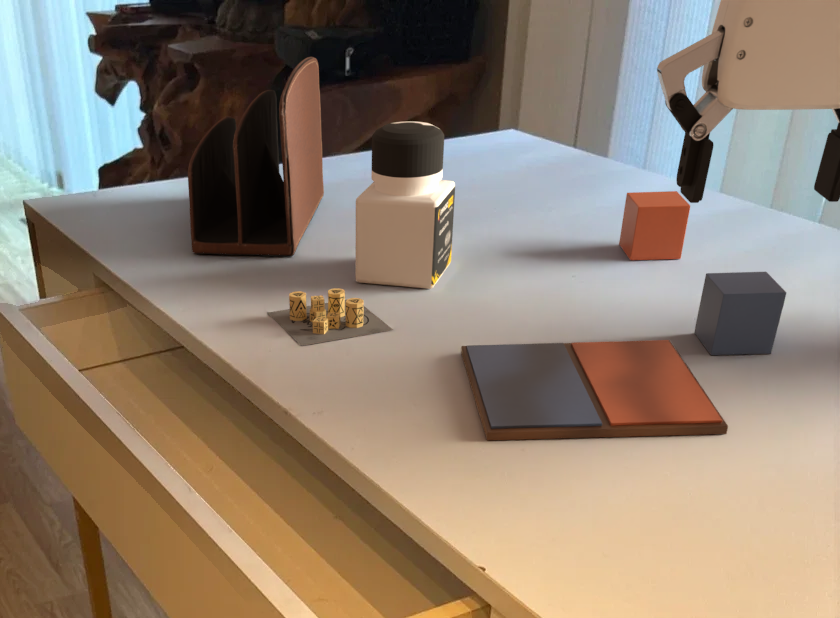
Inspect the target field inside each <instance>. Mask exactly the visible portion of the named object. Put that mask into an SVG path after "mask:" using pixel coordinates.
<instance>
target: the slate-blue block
mask: <svg viewBox="0 0 840 618" xmlns="http://www.w3.org/2000/svg"><path fill="white" fill-rule="evenodd" d="M704 277H705V278H704V282H703V287H702V290H701V291H702V292H701V296H700V302H699V307H698V311H697V316H696V322H695V326H694V331H693V333H694V335H695V336H696V338H697V339H698V340H699V342H700V343H701V344H702V345H703V347H704V348H705V350H706V352H707V353H708V354H709V355H710V356H736V355H737V356H739V355H767V354H768V355H771V354H772V352H773V349H774V344H775V340H776V336H777V332H778V329H779V324H780V320H781V317H782V312H783V308H784V304H785V300H786V297H787V291H786V290H785V289H784V288H783V287H782V286H781V285H780V284H779V283H778V282H777V281H776V280H775V279H774V278H773V277H772V276H771V275H770V274H769V273H768V272H767V271H746V272H745V271H742V272H741V271H739V272H738V271H737V272H708V273H707V272H706V273H705V276H704Z"/></svg>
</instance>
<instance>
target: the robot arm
mask: <svg viewBox="0 0 840 618" xmlns="http://www.w3.org/2000/svg"><path fill="white" fill-rule="evenodd" d="M701 67H702V75H701V86H702V87H701V88H702V89H703V90H704V91H705V92H704V93H703V94H702V95H701V97H699V99H698V100H697V101H696V102H695V103H694V104H693V103H692V101H691V99H690V98H689V97H688V94H687V91H686V86H685V81H686V77H687V76H688V75H689V74H691V73H692V72H694V71H696V70H698V69H700V68H701ZM656 73H657V76H658V80H659V84H660V87H661V91H662V94H663V97H664V102H665V103H664V105H665V106H666V108H667V109H668V110H669V112H670V113H671V115H672V116H673V118H674V119H675V120H676V122H677V123H678V125H679V127H680V128H681V130H682V131H683V132H684V137H683V142H682V147H681V151H680V156H679V162H678V168H677V171H676V172H677V173H676V185H677V187H678V188H680V194H681V195H682V196H683V197H685V198H684V199H685V200H687V202H688V203H690V204H698V203H699V202H701V201H702V200H703V199H704V198H703V197H704V194H705V189H706V188H705V187H706V183H707V180H708V179H707V178H708V175H709V169H710V166H711V165H710V164H711V160H712V155H713V151H714V141H713V140H711V139H710V135H711V132H712V131H713V130H714V129H715V128H716V127H717V126H718V125H719V124H720V123H721V122H722V121H723V120H724V118H726V117H727V116H728V115H729V113H731V111H733V110H745V111H782V110H784V111H785V110H786V111H788V110H789V111H790V110H795V111H796V110H799V111H800V110H831V111H832V113H833V115H834V117H835V120H836V122H837V125H836V126H837V127H836V128H831V130H830V132H829V133H828V134H827V137H826V140H825V145H824V148H823V152H822V155H821V159H820V163H819V166H818V171H817V174H816V177H815V181H814V185H813V189H814V191H815V192H816V193H817V194H818V195H820V196H821V197H822V198H824V199H825V200H826V201H828V202H829V203H838V202H839V200H840V0H720V2H719V4H718V9H717V13H716V15H715V19H714V24H713V26H712V30H711V34H708V35H707V36H705V37H703V38H702V39H700V40H698V41H696V42H694V43H693V44H691V45H689V46H686V47H684V48H683V49H681V50H680V51H677V52H675V53H674V54H672V55H670V56H668V57H667V58H665V59H662V61H660V62H659V63H658V64H657V67H656Z"/></svg>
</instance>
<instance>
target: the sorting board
mask: <svg viewBox="0 0 840 618" xmlns="http://www.w3.org/2000/svg"><path fill="white" fill-rule="evenodd" d="M460 353H461V357H462V361H463V364H464V368H465V371H466V374H467V378H468V381H469V384H470V388H471V391H472V394H473V398H474V402H475V404H476V408H477V412H478V414H479V418H480V422H481V424H482V428H483V432H484V436H485V439H486V441H512V440H513V441H515V440H516V441H517V440H519V441H520V440H550V439H551V440H552V439H554V440H555V439H557V440H558V439H589V438H590V439H591V438H593V439H594V438H623V437H624V438H626V437H627V438H628V437H630V438H631V437H660V436H661V437H665V436H666V437H667V436H668V437H669V436H700V435H701V436H702V435H703V436H704V435H727V432H728V429H729V425H728V424H727V422H726V421H725V419H724V418H723V416H722V415H721V413H720V412H719V410H718V408H717V407H716V406H715V404H714V403H713V402H712V400H711V399H710V397H709V395H708V394H707V393H706V391H705V389H704V388H703V387H702V385H701V384H700V382H699V380H698V379H697V378H696V377H695V375H694V374H693V372H692V371H691V369H690V368H689V366H688V364H687V363H686V362H685V360H684V359H683V357H682V356H681V354H680V353H679V351H678V349H677V348H676V346H675V345H674V344H673V342H672V341H671V340H670V339H651V340H650V339H648V340H616V341H615V340H614V341H613V340H612V341H580V342H579V341H577V342H575V341H574V342H544V343H541V342H540V343H507V344H473V345H467V344H466V345H462V346H461V348H460Z"/></svg>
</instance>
